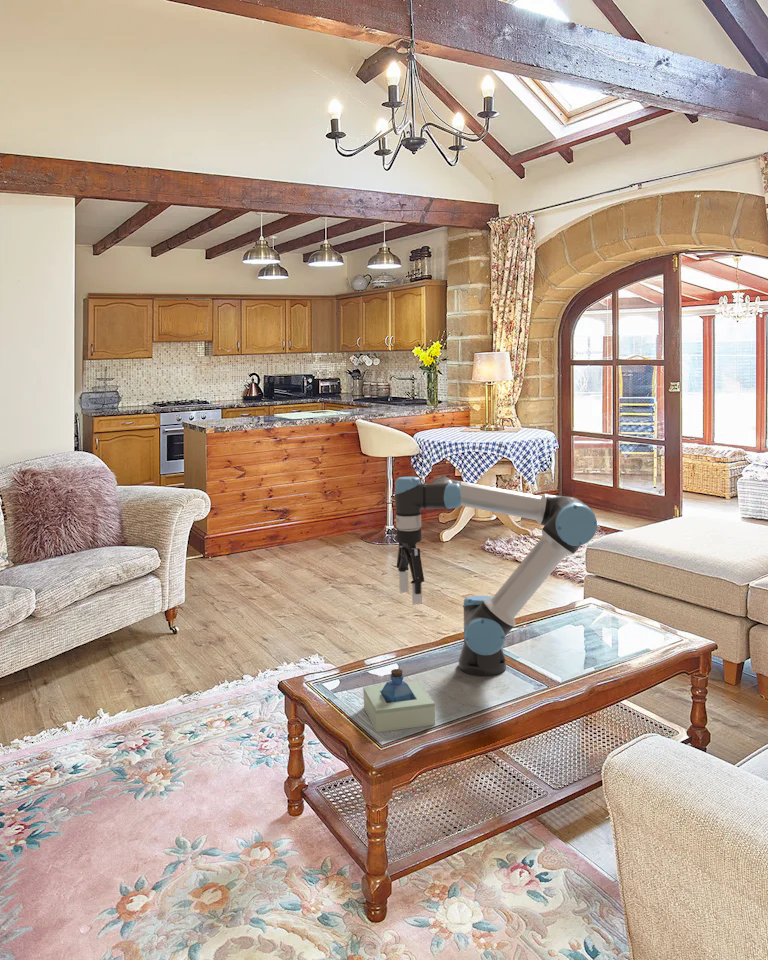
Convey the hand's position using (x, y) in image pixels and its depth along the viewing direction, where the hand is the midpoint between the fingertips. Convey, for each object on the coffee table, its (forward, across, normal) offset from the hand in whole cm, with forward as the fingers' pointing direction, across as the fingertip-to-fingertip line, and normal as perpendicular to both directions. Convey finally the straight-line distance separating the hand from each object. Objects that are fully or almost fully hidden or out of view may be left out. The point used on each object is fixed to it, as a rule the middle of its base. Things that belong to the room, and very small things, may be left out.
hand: (410, 598), depth 227 cm
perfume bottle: (+26, +21, -11) cm, 35 cm away
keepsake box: (+26, +21, -11) cm, 36 cm away
